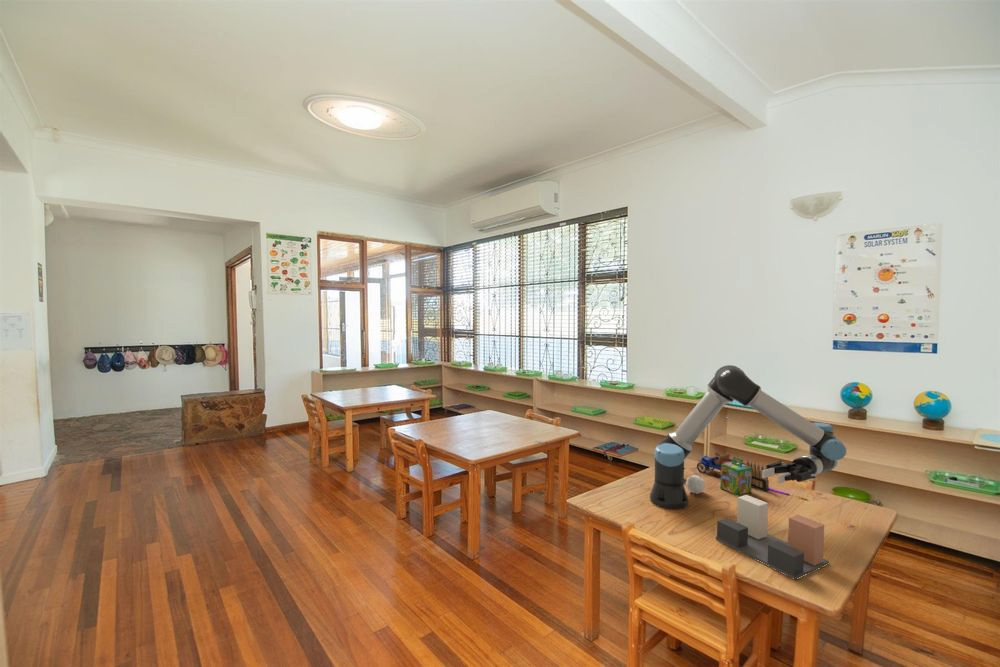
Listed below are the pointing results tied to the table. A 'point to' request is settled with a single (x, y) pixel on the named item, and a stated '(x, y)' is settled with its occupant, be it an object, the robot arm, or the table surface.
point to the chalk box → (736, 477)
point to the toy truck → (714, 462)
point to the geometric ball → (695, 484)
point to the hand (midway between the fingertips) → (770, 476)
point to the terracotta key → (807, 538)
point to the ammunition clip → (758, 476)
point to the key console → (765, 549)
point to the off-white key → (753, 515)
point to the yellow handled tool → (782, 492)
